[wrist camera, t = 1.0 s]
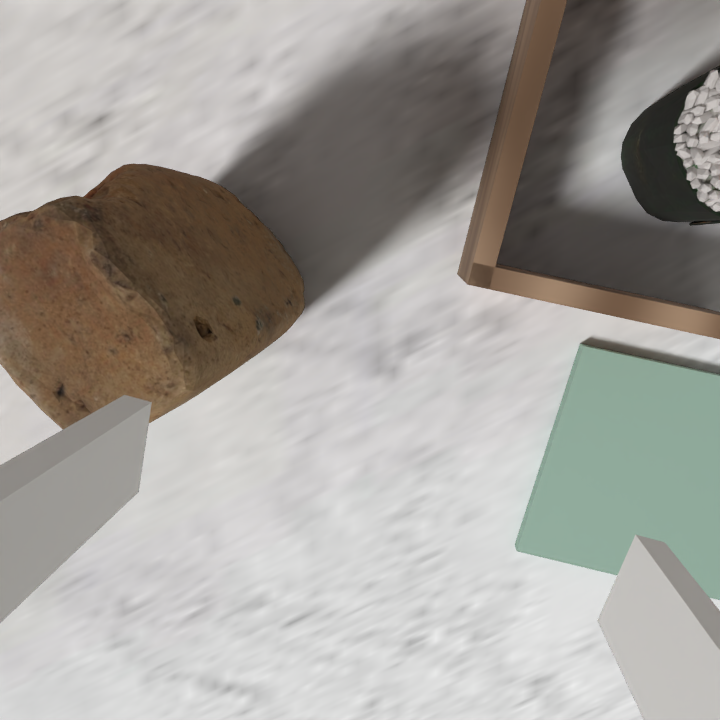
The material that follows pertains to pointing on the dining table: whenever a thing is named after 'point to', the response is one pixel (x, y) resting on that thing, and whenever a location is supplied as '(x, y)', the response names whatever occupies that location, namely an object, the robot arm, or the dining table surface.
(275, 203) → the dining table surface
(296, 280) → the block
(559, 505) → the mat
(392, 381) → the dining table surface
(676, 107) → the sushi
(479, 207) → the frame
